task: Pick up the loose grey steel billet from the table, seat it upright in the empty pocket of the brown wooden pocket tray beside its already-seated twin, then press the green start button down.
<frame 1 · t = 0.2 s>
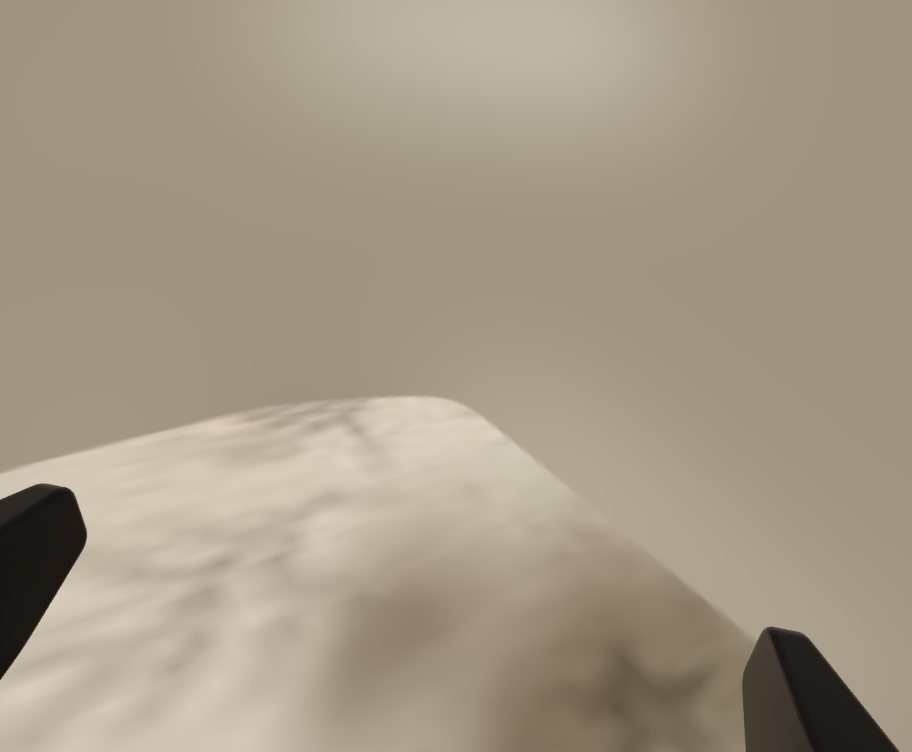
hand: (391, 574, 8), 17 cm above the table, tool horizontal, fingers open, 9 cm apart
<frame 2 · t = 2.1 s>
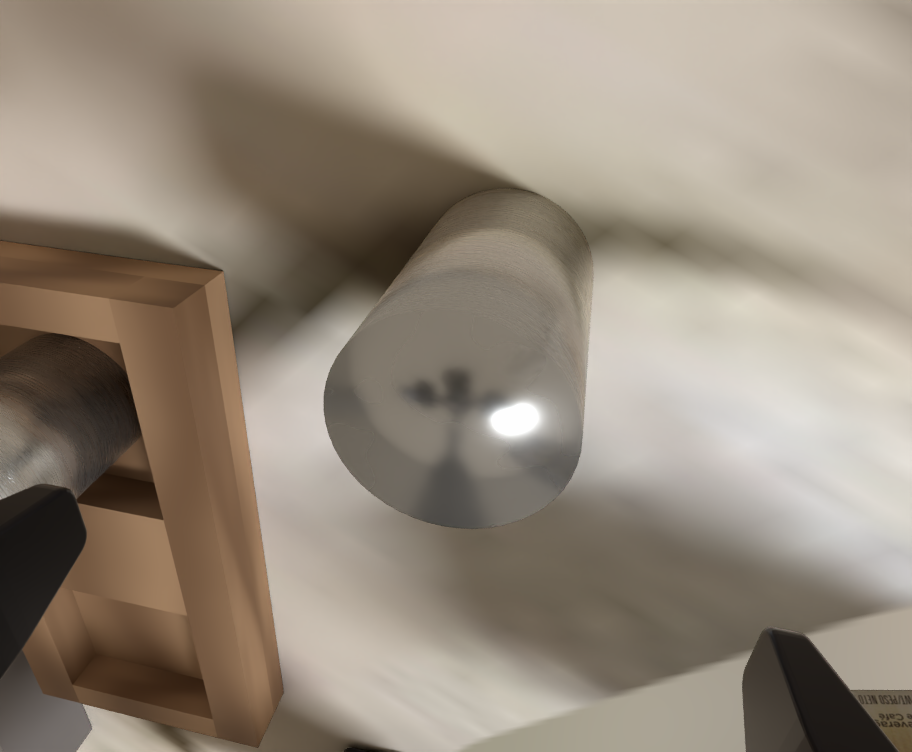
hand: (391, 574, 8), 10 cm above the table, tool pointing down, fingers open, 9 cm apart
brown wooden pocket tray: (135, 503, 24), on the table
billet loose: (506, 274, 17), on the table
billet seated: (80, 395, 21), point 1 cm above the table, touching brown wooden pocket tray
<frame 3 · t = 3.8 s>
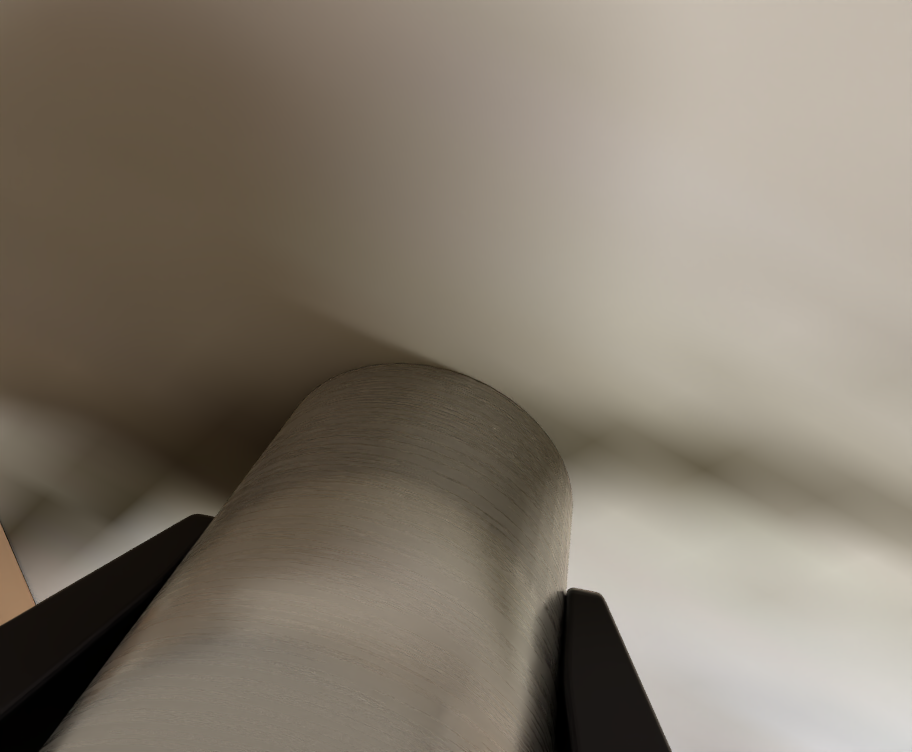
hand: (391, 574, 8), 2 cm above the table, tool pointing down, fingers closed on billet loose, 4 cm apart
billet loose: (421, 493, 10), on the table, touching gripper
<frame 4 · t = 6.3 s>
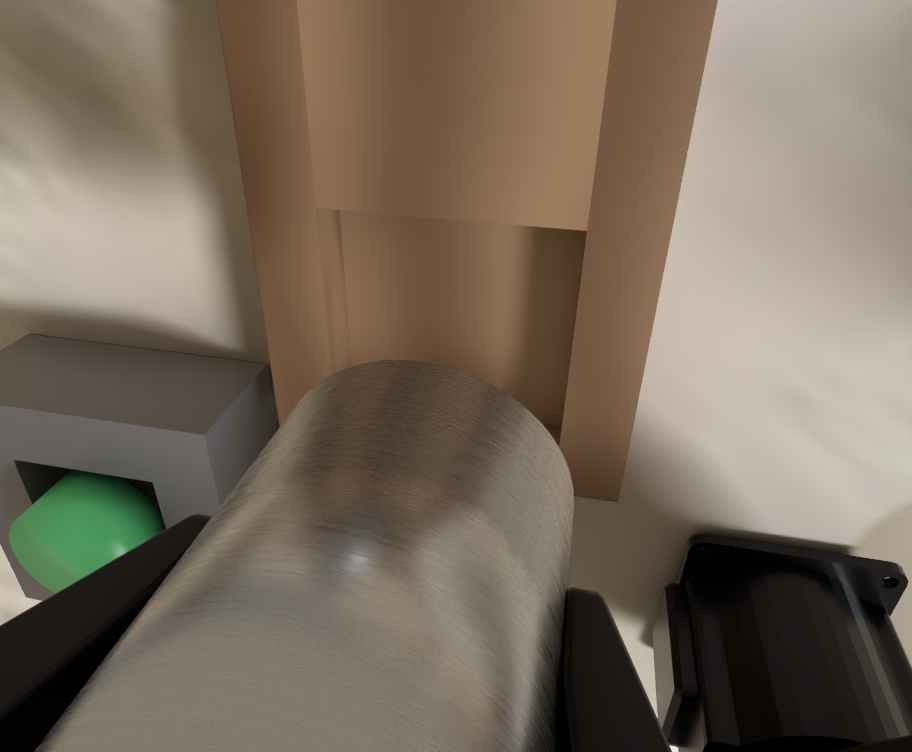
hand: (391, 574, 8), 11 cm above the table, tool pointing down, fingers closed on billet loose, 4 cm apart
button housing: (171, 453, 24), on the table
brown wooden pocket tray: (469, 96, 16), on the table
billet loose: (421, 491, 10), point 10 cm above the table, touching gripper
start button: (91, 539, 21), point 4 cm above the table, slide at 0.0 cm
when the fingers open (4 cm above the table, at t = 8.7 s): billet loose drops 1 cm, resting on brown wooden pocket tray.
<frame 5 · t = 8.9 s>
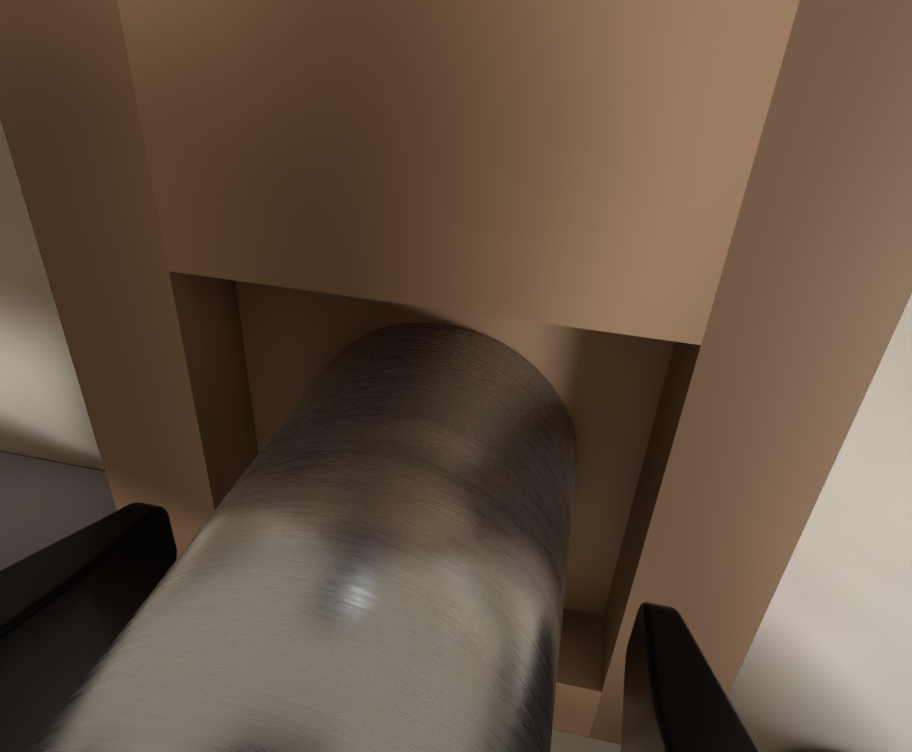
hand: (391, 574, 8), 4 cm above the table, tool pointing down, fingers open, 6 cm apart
button housing: (23, 582, 17), on the table
brown wooden pocket tray: (470, 67, 8), on the table
billet loose: (439, 445, 10), point 1 cm above the table, touching brown wooden pocket tray
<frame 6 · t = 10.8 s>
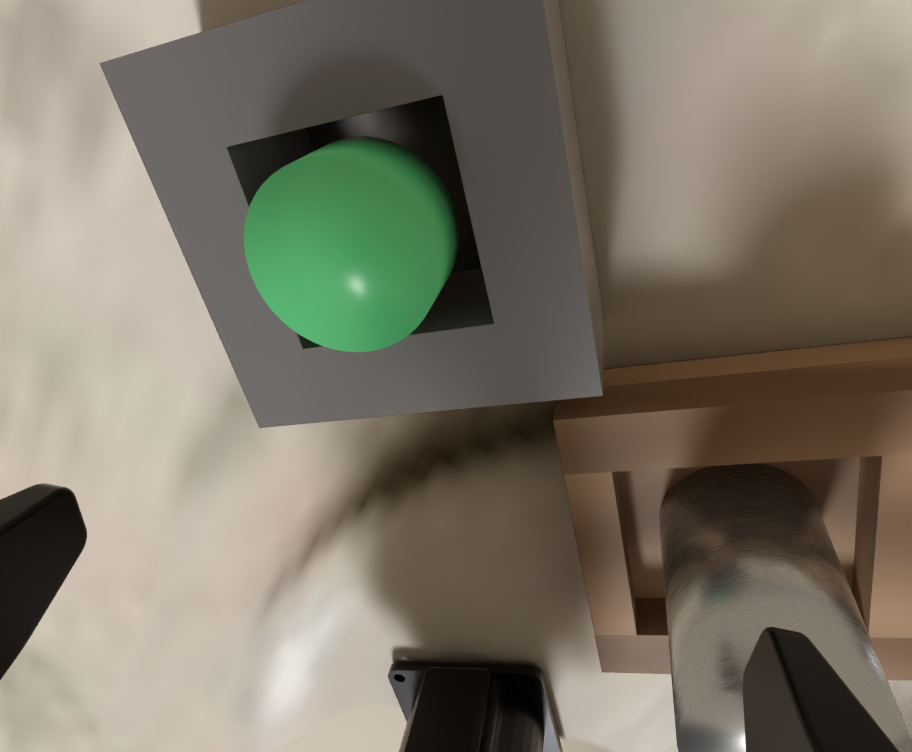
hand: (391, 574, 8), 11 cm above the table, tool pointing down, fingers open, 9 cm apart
button housing: (412, 191, 17), on the table
billet loose: (736, 521, 19), point 1 cm above the table, touching brown wooden pocket tray
start button: (356, 245, 14), point 4 cm above the table, slide at 0.0 cm
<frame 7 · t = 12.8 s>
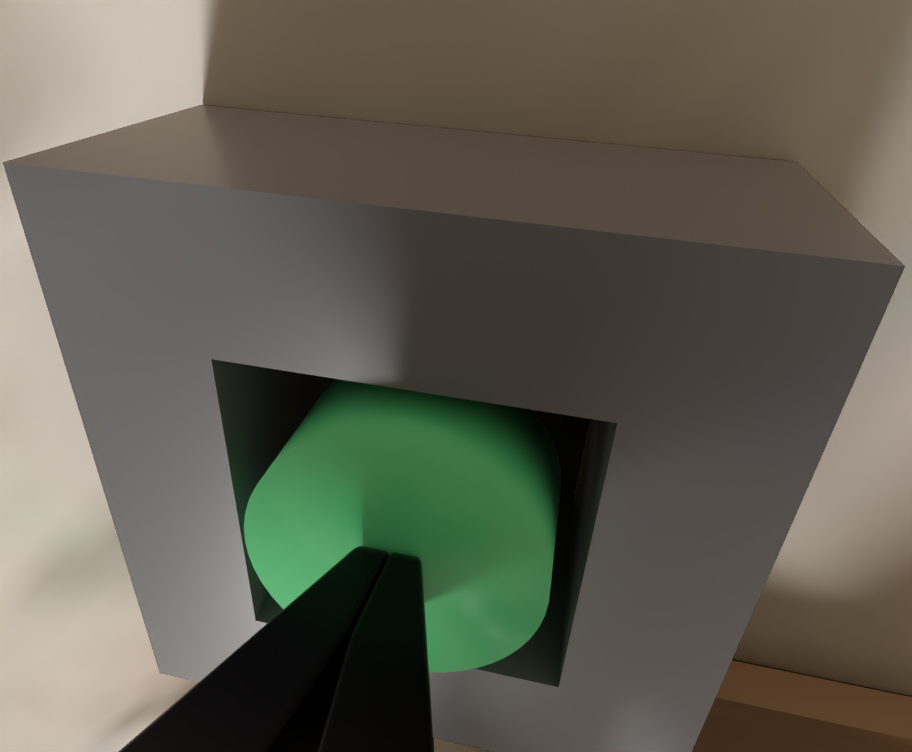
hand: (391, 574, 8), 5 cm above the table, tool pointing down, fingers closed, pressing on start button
button housing: (461, 385, 12), on the table
start button: (412, 516, 9), point 4 cm above the table, slide at 1.0 cm, touching gripper
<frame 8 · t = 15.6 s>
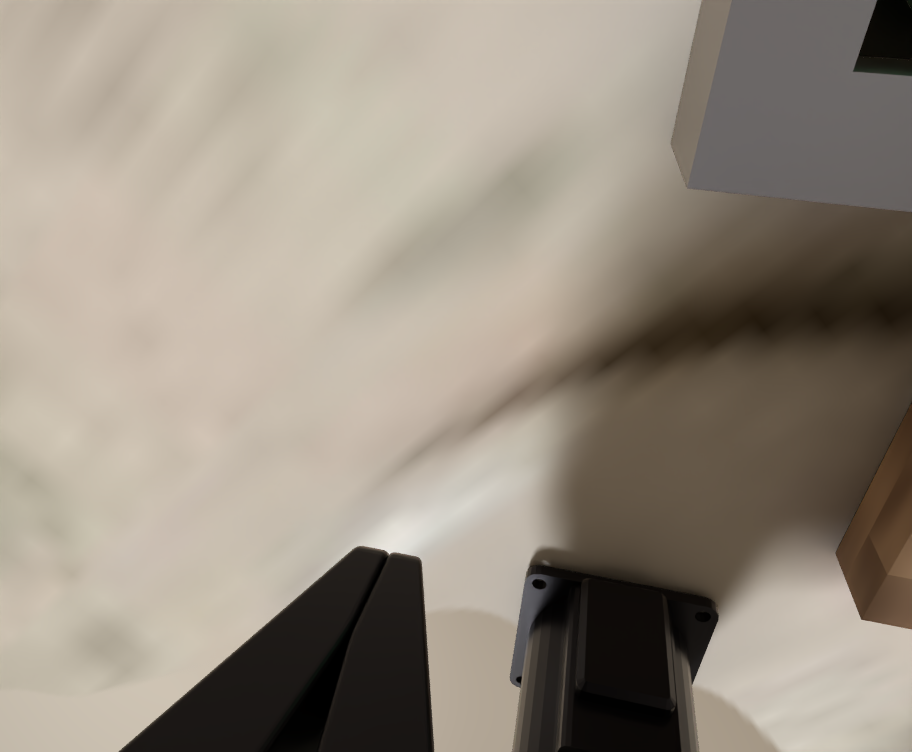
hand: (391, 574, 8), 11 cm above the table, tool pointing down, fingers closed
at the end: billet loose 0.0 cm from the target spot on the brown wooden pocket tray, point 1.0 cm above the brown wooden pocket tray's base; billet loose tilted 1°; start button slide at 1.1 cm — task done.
